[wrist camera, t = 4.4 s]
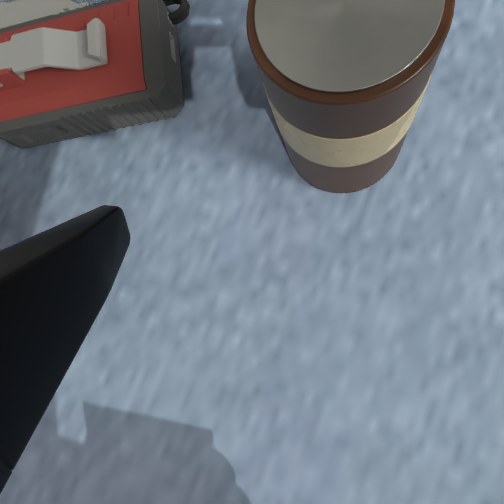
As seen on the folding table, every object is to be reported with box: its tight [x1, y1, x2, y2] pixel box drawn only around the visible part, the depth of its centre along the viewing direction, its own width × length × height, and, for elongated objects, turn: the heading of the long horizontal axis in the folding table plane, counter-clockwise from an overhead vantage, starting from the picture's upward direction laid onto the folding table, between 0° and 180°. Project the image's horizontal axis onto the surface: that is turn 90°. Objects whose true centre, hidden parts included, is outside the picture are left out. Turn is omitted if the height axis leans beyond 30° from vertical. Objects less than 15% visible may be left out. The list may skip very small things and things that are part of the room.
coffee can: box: [246, 0, 455, 193], centre depth 17 cm, size 6×6×11 cm
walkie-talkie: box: [0, 0, 190, 148], centre depth 25 cm, size 9×4×20 cm
